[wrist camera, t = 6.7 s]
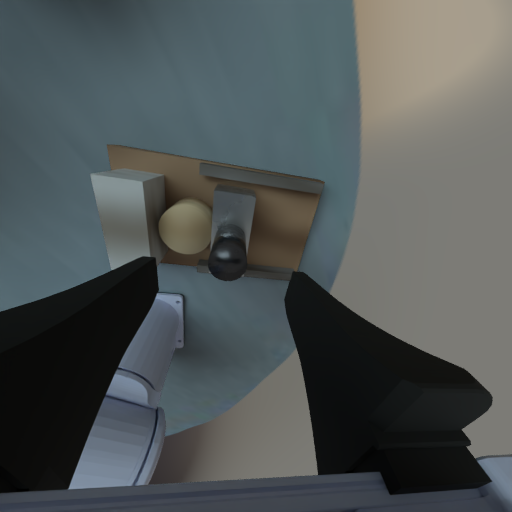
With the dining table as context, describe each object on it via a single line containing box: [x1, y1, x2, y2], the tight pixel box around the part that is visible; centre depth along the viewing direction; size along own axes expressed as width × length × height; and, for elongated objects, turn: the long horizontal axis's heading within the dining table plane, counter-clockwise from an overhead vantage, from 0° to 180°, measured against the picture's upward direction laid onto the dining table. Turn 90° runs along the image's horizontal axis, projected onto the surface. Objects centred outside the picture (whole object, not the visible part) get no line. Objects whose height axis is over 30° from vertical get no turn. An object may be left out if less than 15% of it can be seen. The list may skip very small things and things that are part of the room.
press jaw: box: [208, 184, 256, 281], centre depth 15 cm, size 7×3×7 cm, turn 171°
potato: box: [159, 197, 213, 254], centre depth 16 cm, size 4×4×3 cm
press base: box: [90, 145, 325, 281], centre depth 17 cm, size 10×18×6 cm, turn 81°
